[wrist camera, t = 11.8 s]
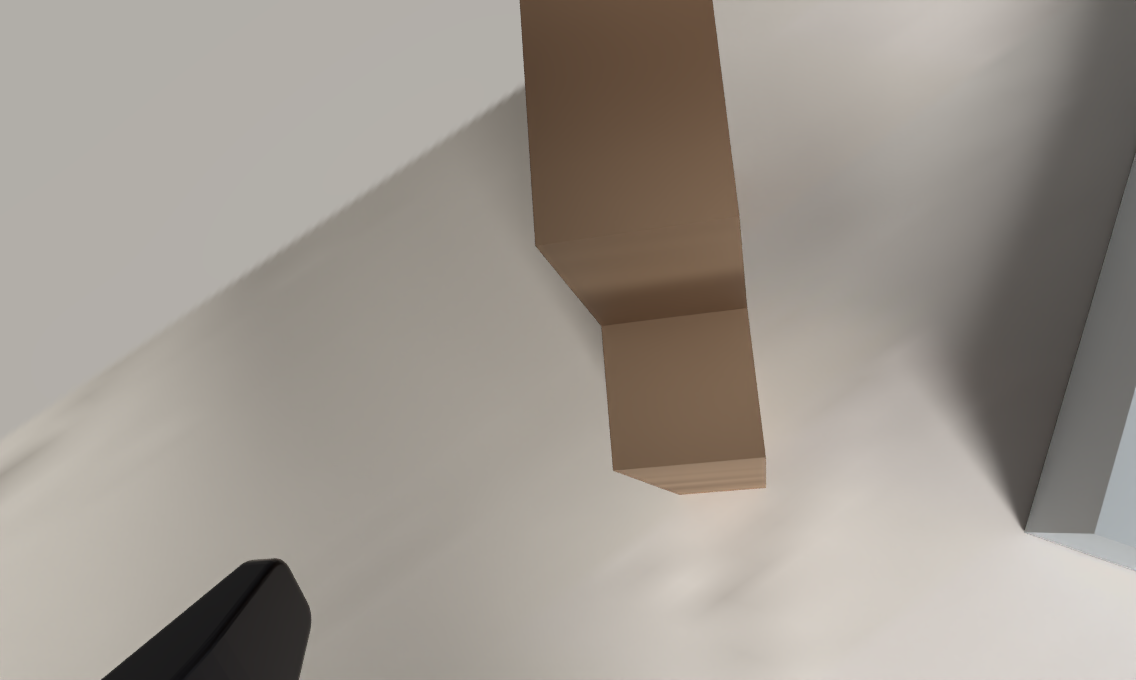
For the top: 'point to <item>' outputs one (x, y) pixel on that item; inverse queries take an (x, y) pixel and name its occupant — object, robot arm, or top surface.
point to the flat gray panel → (1098, 418)
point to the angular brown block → (648, 228)
